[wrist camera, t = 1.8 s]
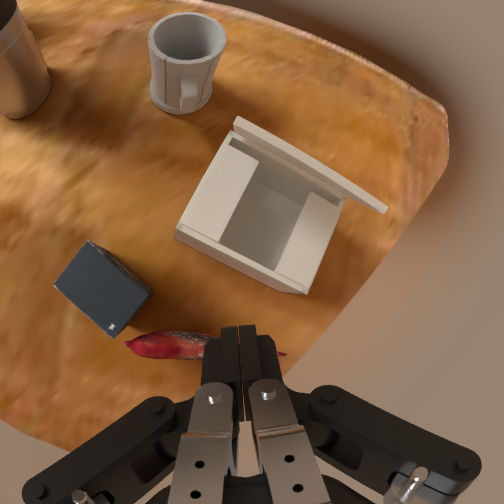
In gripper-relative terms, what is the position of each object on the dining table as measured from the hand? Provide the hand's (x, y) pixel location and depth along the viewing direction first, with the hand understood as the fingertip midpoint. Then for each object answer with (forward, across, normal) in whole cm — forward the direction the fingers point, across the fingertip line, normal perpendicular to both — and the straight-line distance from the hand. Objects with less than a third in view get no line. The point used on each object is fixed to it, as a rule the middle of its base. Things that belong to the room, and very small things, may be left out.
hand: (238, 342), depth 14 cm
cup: (+35, +6, -15) cm, 39 cm away
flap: (+23, -7, -5) cm, 24 cm away
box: (+22, +15, +8) cm, 28 cm away
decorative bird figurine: (+21, +5, +15) cm, 27 cm away
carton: (+28, -2, +3) cm, 29 cm away
